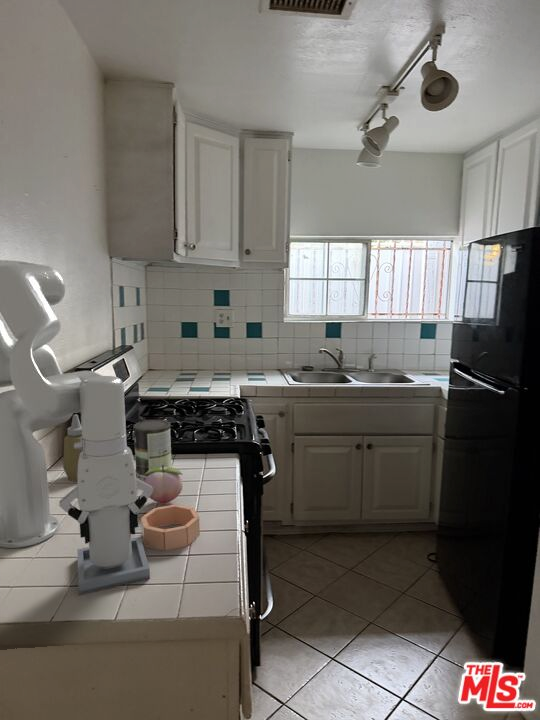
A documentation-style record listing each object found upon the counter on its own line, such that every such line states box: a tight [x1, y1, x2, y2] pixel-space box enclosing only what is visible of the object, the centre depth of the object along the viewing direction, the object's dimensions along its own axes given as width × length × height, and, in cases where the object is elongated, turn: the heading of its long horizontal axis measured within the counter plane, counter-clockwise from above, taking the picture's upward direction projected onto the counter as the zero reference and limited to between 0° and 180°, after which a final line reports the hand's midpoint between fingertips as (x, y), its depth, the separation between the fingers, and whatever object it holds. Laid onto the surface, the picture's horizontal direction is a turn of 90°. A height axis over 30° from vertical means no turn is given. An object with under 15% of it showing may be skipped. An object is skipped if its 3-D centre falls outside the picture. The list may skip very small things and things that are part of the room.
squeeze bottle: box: [62, 414, 83, 482], centre depth 132 cm, size 8×8×18 cm
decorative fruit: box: [144, 465, 184, 505], centre depth 116 cm, size 9×8×10 cm
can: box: [87, 505, 132, 569], centre depth 88 cm, size 8×8×12 cm
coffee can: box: [132, 419, 173, 479], centre depth 136 cm, size 10×10×14 cm
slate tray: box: [76, 536, 151, 596], centre depth 89 cm, size 12×12×2 cm
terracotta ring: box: [140, 504, 201, 552], centre depth 101 cm, size 12×12×4 cm
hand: (110, 534), depth 89 cm, fingers closed on can, 7 cm apart
